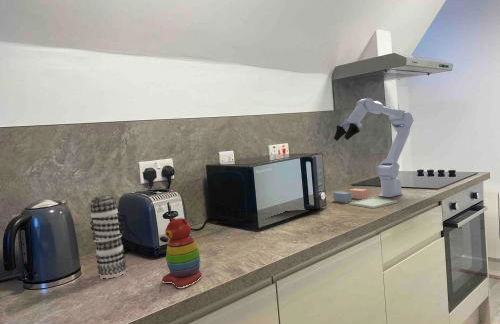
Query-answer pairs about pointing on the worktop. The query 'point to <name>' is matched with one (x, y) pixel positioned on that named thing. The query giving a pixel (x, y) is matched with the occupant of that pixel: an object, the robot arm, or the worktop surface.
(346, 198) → the slate brick
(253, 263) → the worktop surface
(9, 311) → the worktop surface
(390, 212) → the worktop surface
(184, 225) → the stacking bear
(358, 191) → the coral brick
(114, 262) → the decorative candle
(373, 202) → the baseplate
